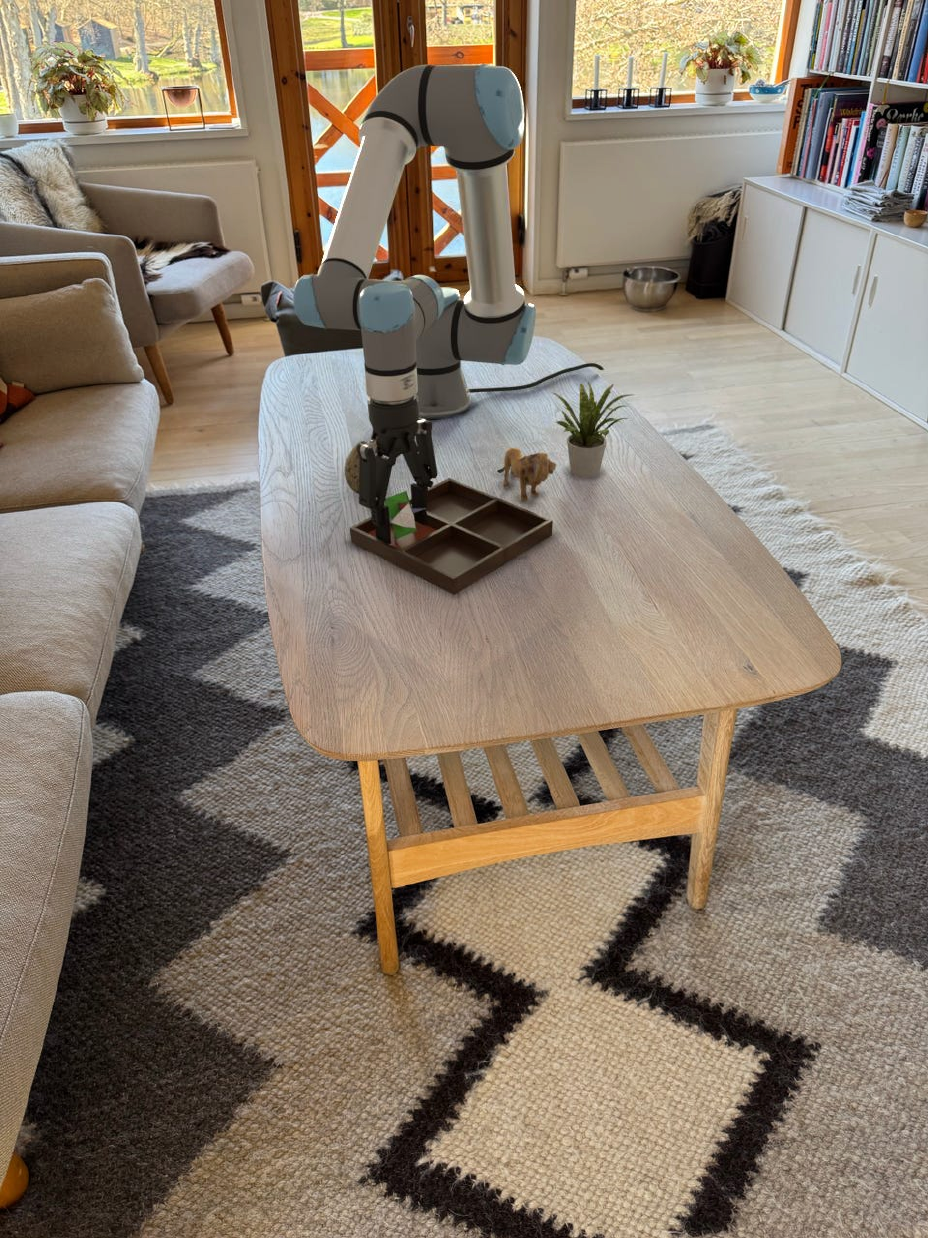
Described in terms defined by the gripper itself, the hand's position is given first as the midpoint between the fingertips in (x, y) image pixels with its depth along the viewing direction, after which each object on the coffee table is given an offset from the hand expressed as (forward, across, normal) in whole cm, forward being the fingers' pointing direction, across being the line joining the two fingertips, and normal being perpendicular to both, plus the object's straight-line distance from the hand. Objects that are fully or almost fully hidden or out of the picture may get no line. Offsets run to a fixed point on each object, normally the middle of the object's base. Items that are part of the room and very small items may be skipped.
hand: (402, 531), depth 152 cm
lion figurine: (+2, +26, -4) cm, 27 cm away
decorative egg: (+2, +7, +16) cm, 18 cm away
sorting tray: (+2, +6, -6) cm, 8 cm away
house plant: (+2, +39, -9) cm, 40 cm away
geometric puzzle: (0, 0, 0) cm, 0 cm away
